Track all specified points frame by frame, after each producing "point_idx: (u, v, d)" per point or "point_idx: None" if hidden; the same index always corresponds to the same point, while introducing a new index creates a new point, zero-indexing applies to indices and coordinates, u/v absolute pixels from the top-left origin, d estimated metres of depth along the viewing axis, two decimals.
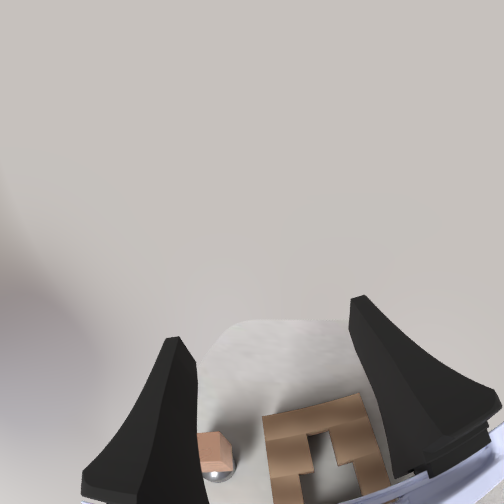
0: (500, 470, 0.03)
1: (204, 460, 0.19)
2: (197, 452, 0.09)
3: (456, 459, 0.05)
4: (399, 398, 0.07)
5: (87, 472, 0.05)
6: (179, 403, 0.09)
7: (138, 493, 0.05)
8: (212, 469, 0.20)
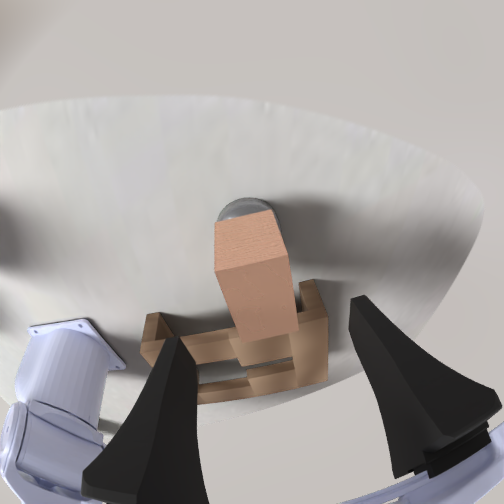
0: (500, 470, 0.03)
1: (237, 326, 0.13)
2: (197, 452, 0.09)
3: (456, 459, 0.05)
4: (399, 398, 0.07)
5: (87, 472, 0.05)
6: (179, 403, 0.09)
7: (138, 493, 0.05)
8: None
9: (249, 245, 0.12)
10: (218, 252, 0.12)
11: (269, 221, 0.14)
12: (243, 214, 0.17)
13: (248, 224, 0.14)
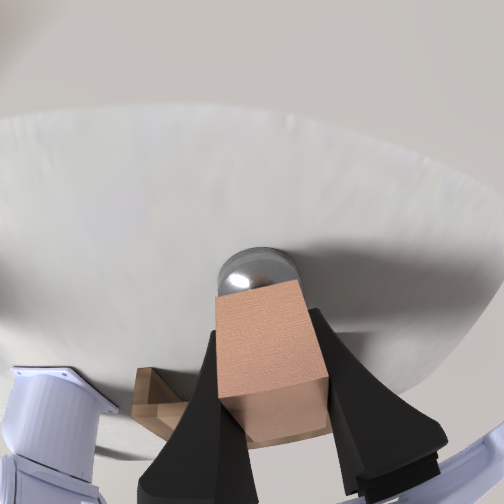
0: (500, 470, 0.03)
1: (249, 433, 0.09)
2: (247, 448, 0.09)
3: (396, 489, 0.05)
4: (338, 419, 0.07)
5: (145, 481, 0.05)
6: None
7: (214, 497, 0.04)
8: None
9: (269, 352, 0.08)
10: (222, 360, 0.08)
11: (296, 304, 0.09)
12: (254, 273, 0.12)
13: (265, 307, 0.09)
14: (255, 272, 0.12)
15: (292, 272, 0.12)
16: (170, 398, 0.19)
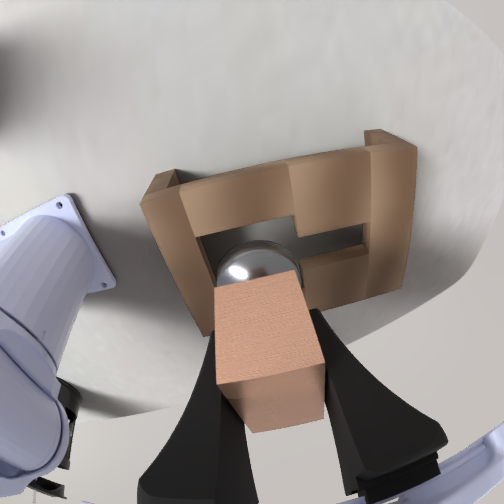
0: (500, 470, 0.03)
1: (247, 423, 0.09)
2: (247, 448, 0.09)
3: (396, 489, 0.05)
4: (338, 419, 0.07)
5: (145, 481, 0.05)
6: None
7: (214, 497, 0.04)
8: None
9: (267, 339, 0.08)
10: (221, 347, 0.08)
11: (293, 293, 0.09)
12: (252, 265, 0.13)
13: (262, 296, 0.10)
14: (253, 264, 0.12)
15: (289, 264, 0.13)
16: None
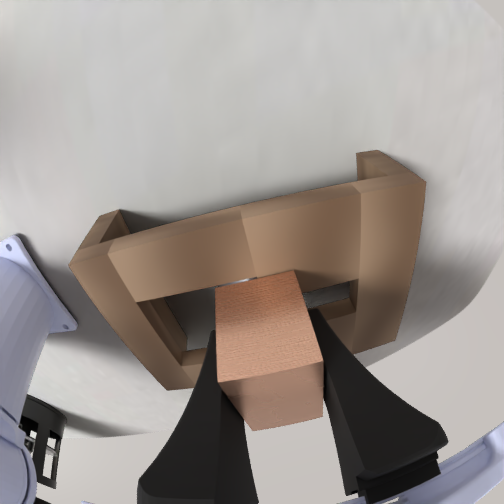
0: (500, 470, 0.03)
1: (247, 421, 0.09)
2: (247, 448, 0.09)
3: (396, 489, 0.05)
4: (338, 419, 0.07)
5: (145, 481, 0.05)
6: None
7: (214, 497, 0.04)
8: None
9: (267, 338, 0.08)
10: (221, 346, 0.08)
11: (292, 293, 0.10)
12: None
13: (262, 296, 0.10)
14: None
15: None
16: None
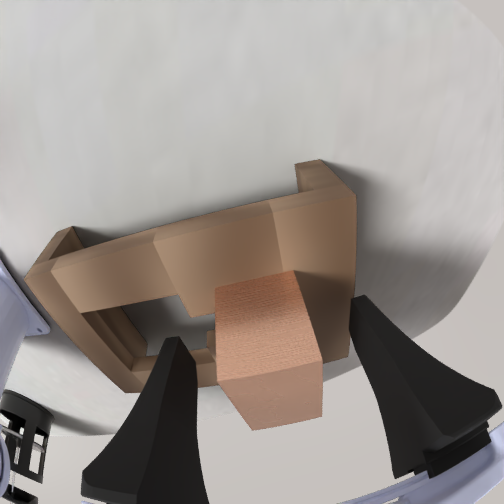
0: (500, 470, 0.03)
1: (247, 420, 0.10)
2: (198, 452, 0.09)
3: (456, 459, 0.05)
4: (399, 398, 0.07)
5: (87, 472, 0.05)
6: (179, 403, 0.09)
7: (138, 493, 0.05)
8: None
9: (265, 337, 0.08)
10: (221, 345, 0.08)
11: (291, 293, 0.10)
12: None
13: (262, 296, 0.10)
14: None
15: None
16: None
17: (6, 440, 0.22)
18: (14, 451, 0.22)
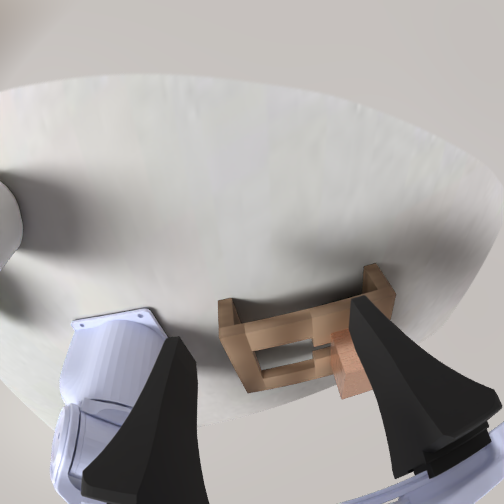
0: (500, 470, 0.03)
1: (343, 393, 0.20)
2: (197, 452, 0.09)
3: (456, 459, 0.05)
4: (399, 398, 0.07)
5: (87, 472, 0.05)
6: (179, 403, 0.09)
7: (138, 493, 0.05)
8: (333, 364, 0.23)
9: None
10: (342, 359, 0.19)
11: None
12: None
13: None
14: None
15: None
16: None
17: None
18: None
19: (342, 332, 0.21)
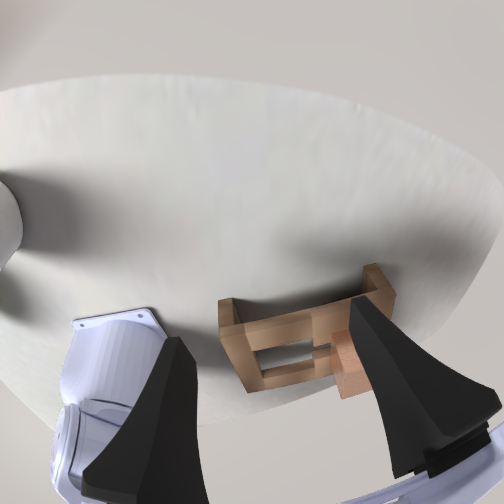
0: (500, 470, 0.03)
1: (343, 393, 0.20)
2: (197, 452, 0.09)
3: (456, 459, 0.05)
4: (399, 398, 0.07)
5: (87, 472, 0.05)
6: (179, 403, 0.09)
7: (138, 493, 0.05)
8: (333, 364, 0.23)
9: None
10: (342, 359, 0.19)
11: None
12: None
13: None
14: None
15: None
16: None
17: None
18: None
19: (342, 332, 0.21)
